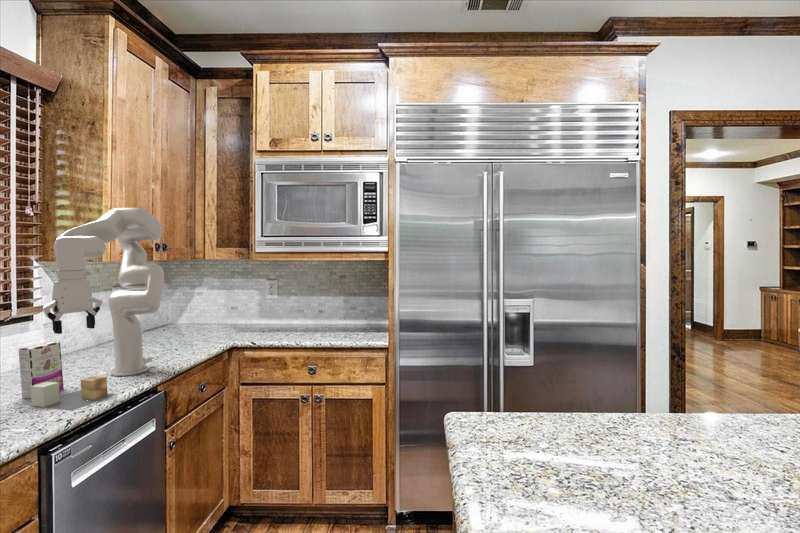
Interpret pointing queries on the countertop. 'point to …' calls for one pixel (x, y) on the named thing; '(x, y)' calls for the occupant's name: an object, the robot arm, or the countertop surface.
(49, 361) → the candy bar box
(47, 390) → the sage block
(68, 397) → the mat
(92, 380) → the oak block
